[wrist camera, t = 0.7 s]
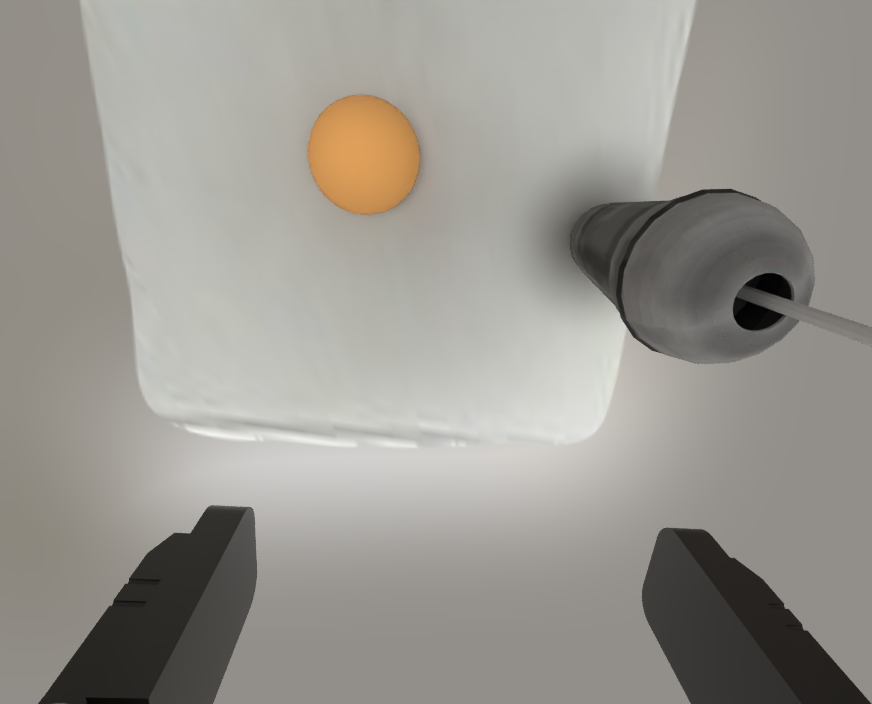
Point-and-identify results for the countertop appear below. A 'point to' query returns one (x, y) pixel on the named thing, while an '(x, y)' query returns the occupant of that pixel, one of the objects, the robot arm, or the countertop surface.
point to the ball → (363, 154)
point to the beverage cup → (704, 274)
